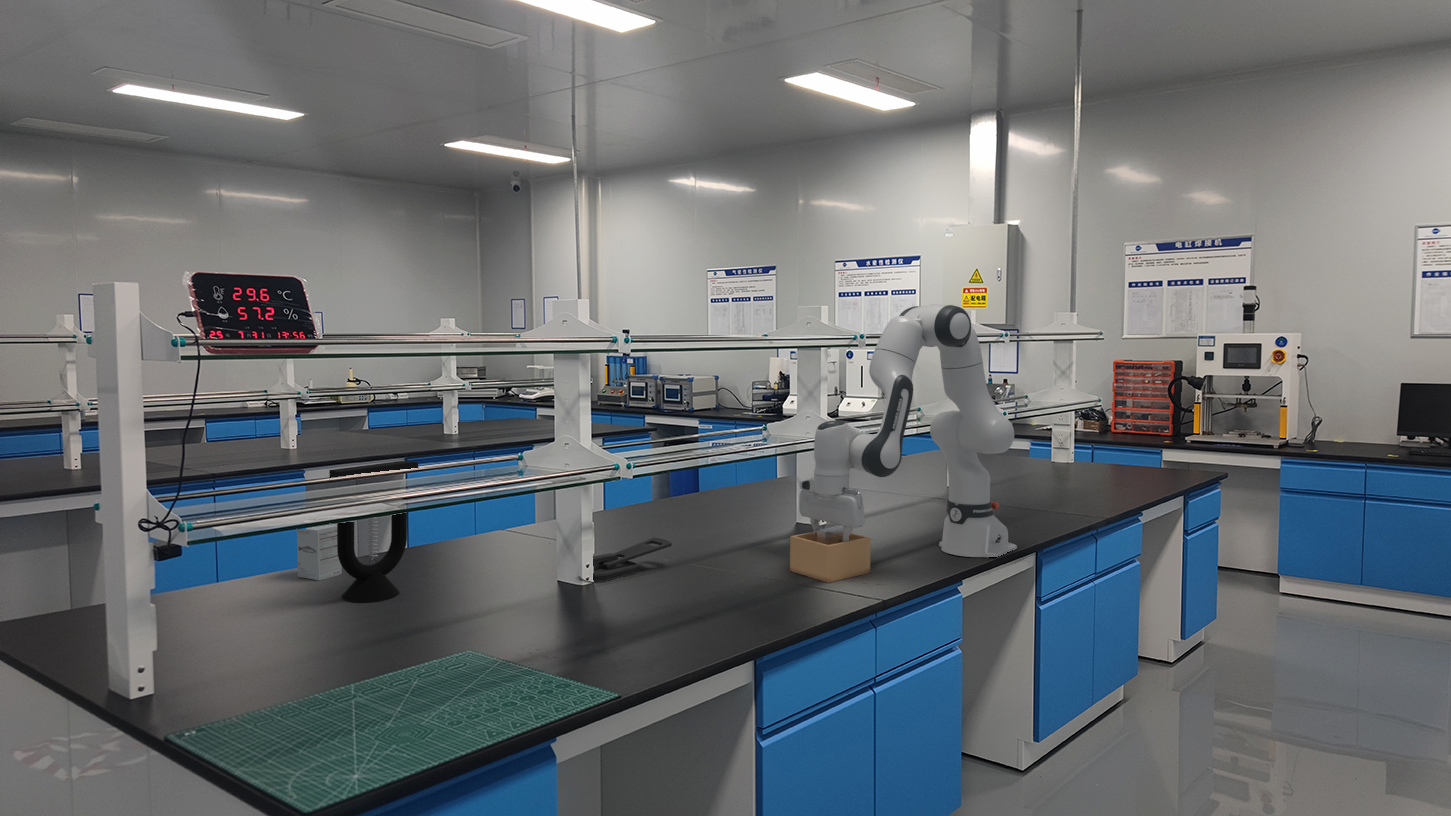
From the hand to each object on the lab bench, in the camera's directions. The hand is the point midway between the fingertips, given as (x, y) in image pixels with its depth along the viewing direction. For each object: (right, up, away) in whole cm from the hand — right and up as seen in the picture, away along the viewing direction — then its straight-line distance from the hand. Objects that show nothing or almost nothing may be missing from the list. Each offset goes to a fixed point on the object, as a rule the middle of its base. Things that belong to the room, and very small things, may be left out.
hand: (831, 539), depth 227 cm
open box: (0, -8, +1) cm, 8 cm away
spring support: (-107, -10, -21) cm, 110 cm away
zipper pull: (-52, -9, 0) cm, 53 cm away
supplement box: (-127, -8, -6) cm, 127 cm away
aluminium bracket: (-1, -7, +2) cm, 8 cm away
